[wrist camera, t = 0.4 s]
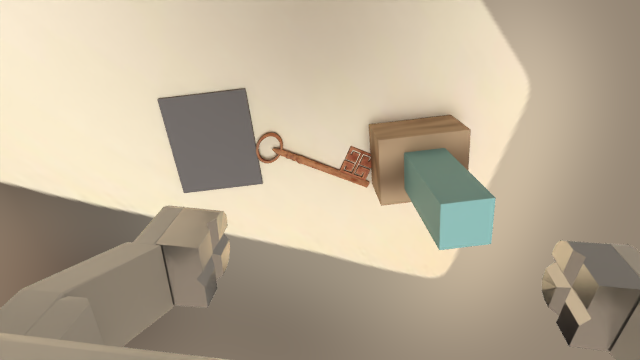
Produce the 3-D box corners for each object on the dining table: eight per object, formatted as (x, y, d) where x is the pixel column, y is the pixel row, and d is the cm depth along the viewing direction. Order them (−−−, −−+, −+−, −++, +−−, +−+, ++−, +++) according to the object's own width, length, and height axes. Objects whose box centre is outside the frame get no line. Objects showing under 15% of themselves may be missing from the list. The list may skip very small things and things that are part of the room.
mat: (158, 98, 45) (157, 99, 44) (245, 88, 45) (244, 89, 44) (184, 191, 50) (183, 193, 49) (262, 182, 50) (262, 183, 49)
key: (379, 156, 50) (268, 113, 46) (381, 158, 49) (268, 114, 45) (360, 196, 51) (251, 157, 48) (362, 198, 50) (251, 159, 47)
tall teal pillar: (403, 152, 43) (440, 204, 32) (444, 147, 43) (495, 197, 32) (404, 189, 45) (439, 250, 34) (443, 184, 45) (491, 243, 34)
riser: (368, 124, 47) (378, 140, 42) (450, 114, 47) (470, 129, 42) (372, 183, 51) (381, 205, 45) (448, 174, 51) (466, 195, 45)
